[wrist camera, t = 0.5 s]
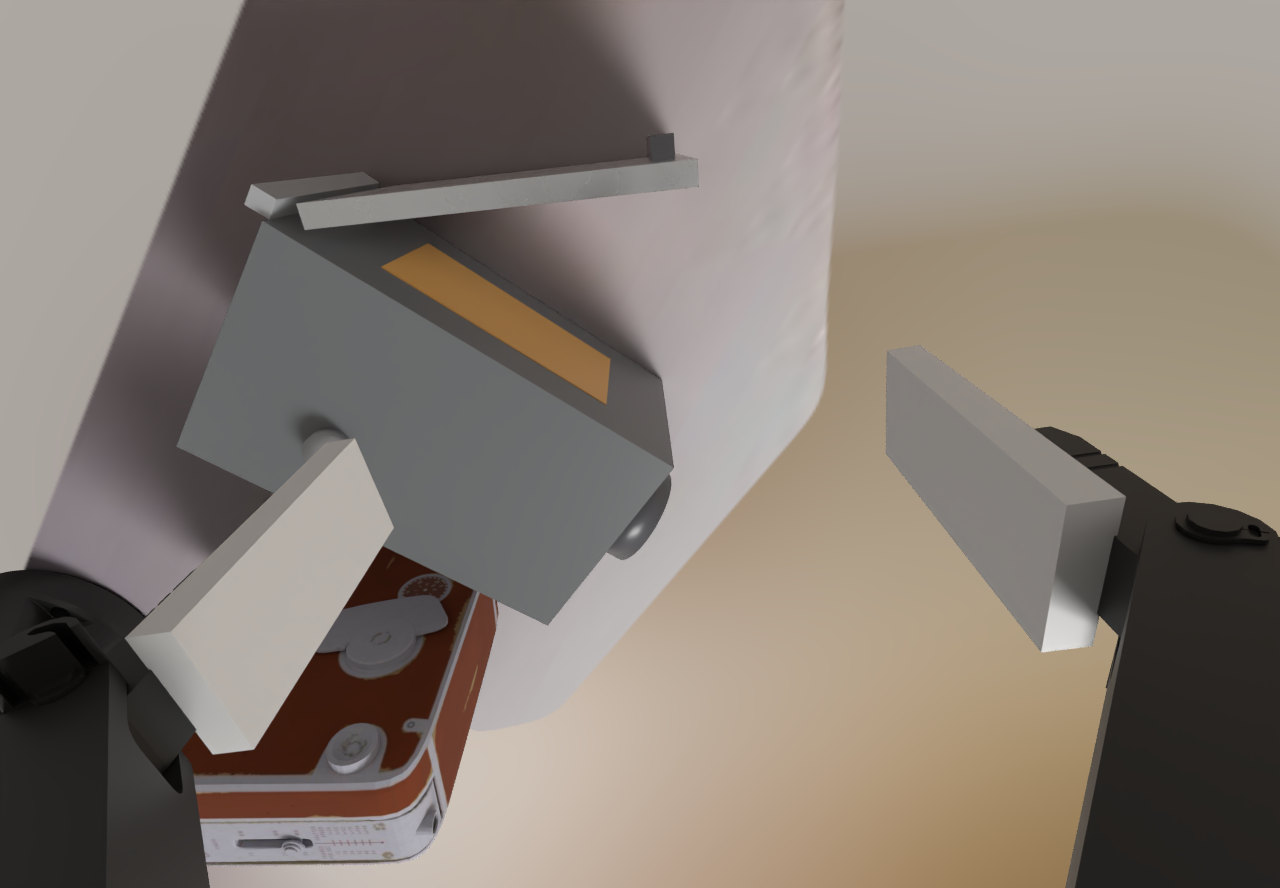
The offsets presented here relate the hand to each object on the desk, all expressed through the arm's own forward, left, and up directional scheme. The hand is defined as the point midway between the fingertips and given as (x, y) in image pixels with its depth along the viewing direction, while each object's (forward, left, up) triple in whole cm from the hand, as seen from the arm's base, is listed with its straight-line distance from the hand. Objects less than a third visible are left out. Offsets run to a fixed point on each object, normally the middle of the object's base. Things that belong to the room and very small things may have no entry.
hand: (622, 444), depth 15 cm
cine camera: (-23, -19, -24) cm, 39 cm away
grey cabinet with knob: (-10, -5, -24) cm, 27 cm away
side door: (-4, +6, -24) cm, 25 cm away
